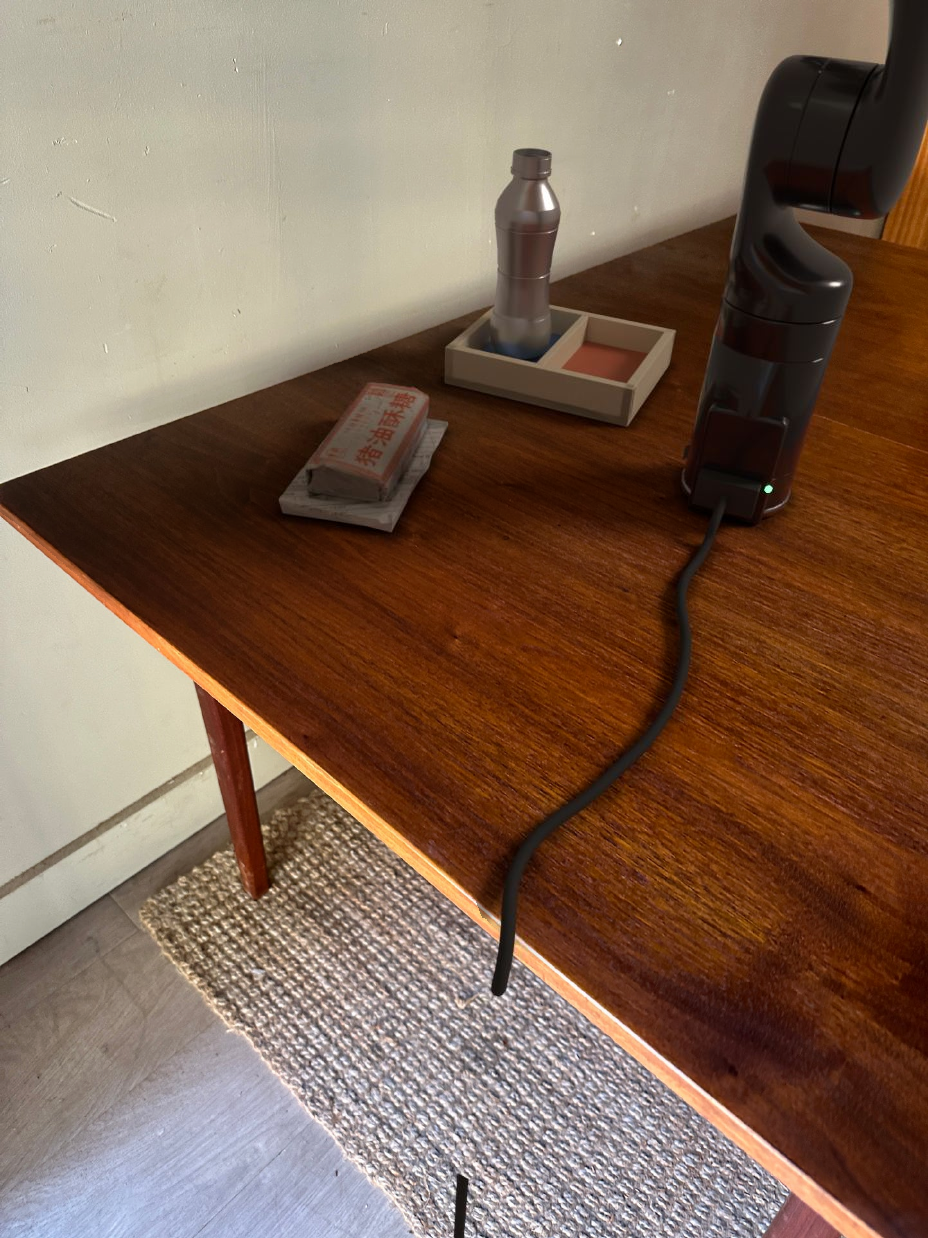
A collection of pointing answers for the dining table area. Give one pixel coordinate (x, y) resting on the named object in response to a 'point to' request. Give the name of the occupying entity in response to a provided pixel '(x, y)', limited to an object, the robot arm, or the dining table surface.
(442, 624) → the dining table surface
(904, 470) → the dining table surface
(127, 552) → the dining table surface
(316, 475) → the packaged product
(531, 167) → the plastic bottle
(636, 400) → the sorting tray
